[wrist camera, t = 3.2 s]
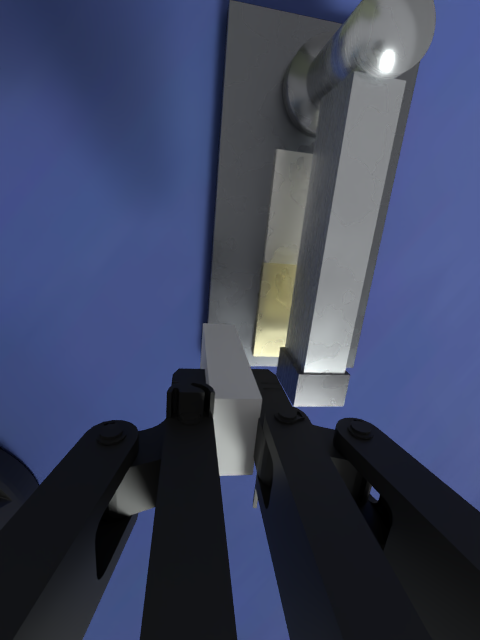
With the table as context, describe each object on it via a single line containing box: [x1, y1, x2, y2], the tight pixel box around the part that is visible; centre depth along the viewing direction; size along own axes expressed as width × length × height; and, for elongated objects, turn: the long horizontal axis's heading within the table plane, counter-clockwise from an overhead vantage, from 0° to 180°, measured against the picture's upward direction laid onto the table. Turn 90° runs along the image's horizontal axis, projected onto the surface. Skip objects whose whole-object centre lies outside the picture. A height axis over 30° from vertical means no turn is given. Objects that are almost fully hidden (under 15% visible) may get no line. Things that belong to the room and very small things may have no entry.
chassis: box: [207, 0, 420, 368], centre depth 22 cm, size 12×22×2 cm, turn 174°
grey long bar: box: [276, 0, 436, 407], centre depth 18 cm, size 19×3×6 cm, turn 174°
